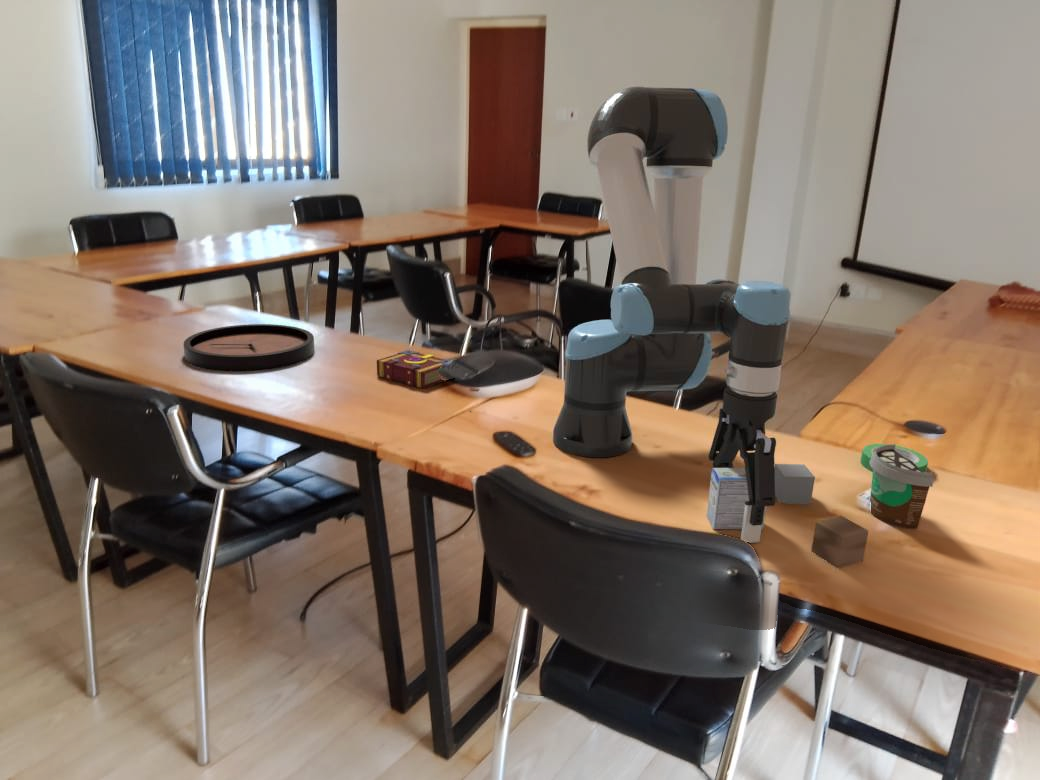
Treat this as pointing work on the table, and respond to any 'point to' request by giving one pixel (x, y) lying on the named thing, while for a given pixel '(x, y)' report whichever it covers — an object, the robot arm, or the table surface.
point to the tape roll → (905, 452)
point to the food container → (897, 488)
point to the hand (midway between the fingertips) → (733, 523)
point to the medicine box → (728, 498)
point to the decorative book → (411, 368)
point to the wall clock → (249, 347)
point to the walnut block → (839, 541)
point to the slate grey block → (793, 483)
